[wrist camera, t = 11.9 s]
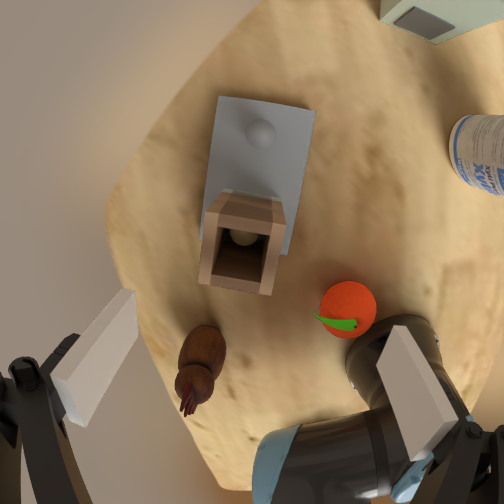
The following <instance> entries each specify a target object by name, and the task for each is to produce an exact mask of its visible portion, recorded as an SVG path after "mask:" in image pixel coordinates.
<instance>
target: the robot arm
mask: <svg viewBox="0 0 504 504" xmlns="http://www.w3.org/2000/svg"><path fill="white" fill-rule="evenodd" d="M138 335H139V333H138V322H137V309H136V293H135V291H133V290H128V289H124V288H122V289H121V290H120V291H119V292H118V293H117V294H116V295H115V296H114V298H113V299H112V300H111V301H110V302H109V303H108V304H107V305H106V307H105V308H104V309H103V310H102V311H101V312H100V314H99V315H98V316H97V317H96V318H95V319H94V321H93V322H92V323H91V324H90V325H89V326H88V328H87V329H86V330H85V331H84V333H83V334H82V335H78V334H75V333H73V334H71V335H70V336H68V337H66V338H64V340H63V341H62V342H61V343H60V344H59V346H58V347H57V348H56V349H55V350H54V351H53V353H52V354H51V355H50V356H49V357H48V358H47V359H46V361H45V362H44V363H43V364H42V365H41V367H40V368H39V365H38V363H37V361H36V360H35V359H34V358H31V357H20V358H17V359H15V360H14V361H13V362H12V363H11V364H10V365H9V368H8V372H9V374H10V376H11V378H12V379H9V378H3V376H2V374H1V372H0V504H21V484H20V483H21V482H20V481H21V479H20V478H21V476H20V475H21V448H22V444H23V449H24V454H25V459H26V464H27V468H28V472H29V476H30V480H31V484H32V487H33V491H34V494H35V498H36V501H37V504H93V503H92V501H91V498H90V496H89V494H88V491H87V489H86V486H85V484H84V481H83V479H82V476H81V474H80V471H79V468H78V466H77V463H76V460H75V457H74V454H73V451H72V448H71V445H70V442H69V438H68V435H67V432H66V428H65V425H64V422H63V420H62V418H63V417H64V415H65V414H67V416H68V418H69V420H70V421H71V422H73V423H76V424H78V425H81V426H83V427H86V426H87V424H88V422H89V420H90V419H91V417H92V415H93V413H94V411H95V409H96V408H97V406H98V404H99V402H100V400H101V399H102V397H103V395H104V393H105V391H106V390H107V388H108V386H109V384H110V383H111V381H112V379H113V378H114V376H115V374H116V372H117V371H118V369H119V367H120V365H121V364H122V362H123V360H124V359H125V357H126V355H127V353H128V352H129V350H130V348H131V347H132V345H133V344H134V342H135V340H136V338H137V337H138ZM346 372H347V375H348V379H349V382H350V384H351V386H352V387H353V388H354V389H355V391H356V392H358V393H359V394H360V396H361V397H362V398H363V400H364V401H365V402H366V403H367V405H368V406H369V408H370V410H368V411H364V412H360V413H356V414H352V415H348V416H344V417H340V418H335V419H331V420H326V421H321V422H316V423H311V424H306V425H302V424H299V425H296V426H295V427H291V428H286V429H281V430H276V431H272V432H270V433H268V434H267V435H266V436H265V437H264V438H263V439H262V440H261V442H260V444H259V446H258V449H257V452H256V456H255V460H254V466H253V474H252V498H253V503H254V504H371V499H373V498H376V497H380V496H383V495H387V494H390V496H391V498H392V499H393V500H394V501H395V502H397V503H405V502H407V501H411V502H410V504H504V425H500V426H498V428H497V429H496V430H495V431H494V432H485V431H483V429H482V428H481V427H480V426H479V425H478V424H477V423H475V422H474V418H473V416H472V415H470V413H469V411H468V409H467V408H466V406H465V404H464V402H463V400H462V399H461V397H460V395H459V393H458V391H457V390H456V388H455V386H454V385H453V383H452V381H451V379H450V378H449V376H448V375H447V373H446V371H445V369H444V368H443V364H442V358H441V354H440V351H439V340H438V337H437V335H436V333H435V331H434V330H433V328H432V327H431V325H430V324H429V323H428V322H427V321H426V320H425V319H423V318H421V317H418V316H415V315H398V316H394V317H390V318H387V319H385V320H383V321H380V322H379V323H377V324H375V325H373V326H372V327H370V328H369V329H368V330H367V331H366V332H365V333H364V334H362V335H361V336H360V337H359V338H358V339H357V340H356V341H355V343H354V344H353V345H352V347H351V349H350V350H349V353H348V355H347V359H346ZM490 467H491V473H489V468H490Z"/></svg>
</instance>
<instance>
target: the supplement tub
mask: <svg viewBox="0 0 504 504" xmlns="http://www.w3.org/2000/svg"><path fill="white" fill-rule="evenodd" d="M449 154H450V159H451V163H452V166H453V168H454V170H455V172H456V174H457V175H458V176H459V178H460V179H461V180H462V181H464V182H465V183H466V184H468V185H471V186H473V187H476V188H479V189H481V190H484V191H487V192H489V193H492V194H495V195H497V196H500V197H502V198H504V115H467V116H464V117H463V118H461V119H460V120H459V121H458V122H457V123H456V124H455V126H454V127H453V129H452V132H451V135H450V140H449Z"/></svg>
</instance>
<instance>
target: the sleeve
mask: <svg viewBox="0 0 504 504" xmlns="http://www.w3.org/2000/svg"><path fill="white" fill-rule="evenodd" d="M228 228H230V229H235V230H241V231H247V232H253V233H259V234H264V238H263V240H256V241H255V242H254V243H253V244H251V245H248V246H242V245H239V244H237V243H235V242H234V241H233V239H232V237H231V235H228V234H227V231H228ZM285 230H286V221H285V216H284V211H283V206H282V201H281V198H278V197H273V196H267V195H262V194H256V193H250V192H244V191H238V190H232V189H226V188H224V189H223V190H222V192H221V193H220V194H219V195H218V197H217V198H216V199H215V200H214V202H213V203H212V204H211V205H210V206H209V208H208V209H207V210H206V212H205V220H204V229H203V237H202V246H201V255H200V265H199V275H198V283H200V284H206V285H211V286H217V287H222V288H228V289H234V290H239V291H245V292H251V293H257V294H263V295H269V296H271V293H272V289H273V285H274V280H275V276H276V271H277V267H278V262H279V257H280V253H281V248H282V244H283V239H284V234H285Z"/></svg>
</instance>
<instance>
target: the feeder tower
mask: <svg viewBox="0 0 504 504" xmlns="http://www.w3.org/2000/svg"><path fill="white" fill-rule="evenodd" d="M502 19H504V0H381V4H380V17H379V21H380V22H383V23H386V24H389V25H391V26H394V27H397V28H399V29H402V30H404V31H407V32H409V33H411V34H414V35H416V36H418V37H420V38H423V39H425V40H427V41H429V42H431V43H433V44H435V45H437V44H439V43H442V42H444V41H446V40H449V39H451V38H454V37H456V36H458V35H461V34H463V33H466V32H469V31H471V30H474V29H476V28H479V27H482V26H485V25H487V24H490V23H493V22H496V21H499V20H502Z"/></svg>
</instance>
